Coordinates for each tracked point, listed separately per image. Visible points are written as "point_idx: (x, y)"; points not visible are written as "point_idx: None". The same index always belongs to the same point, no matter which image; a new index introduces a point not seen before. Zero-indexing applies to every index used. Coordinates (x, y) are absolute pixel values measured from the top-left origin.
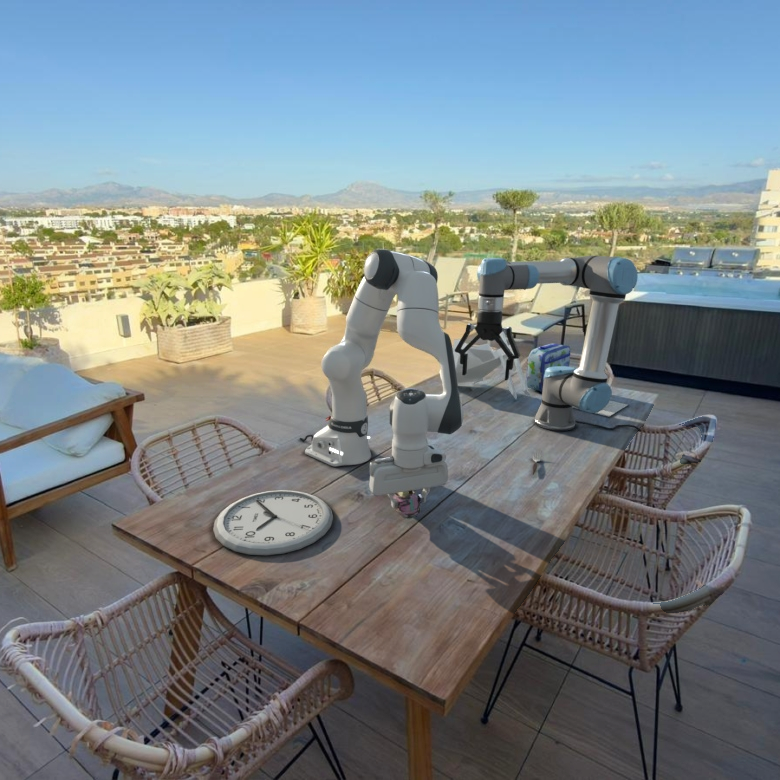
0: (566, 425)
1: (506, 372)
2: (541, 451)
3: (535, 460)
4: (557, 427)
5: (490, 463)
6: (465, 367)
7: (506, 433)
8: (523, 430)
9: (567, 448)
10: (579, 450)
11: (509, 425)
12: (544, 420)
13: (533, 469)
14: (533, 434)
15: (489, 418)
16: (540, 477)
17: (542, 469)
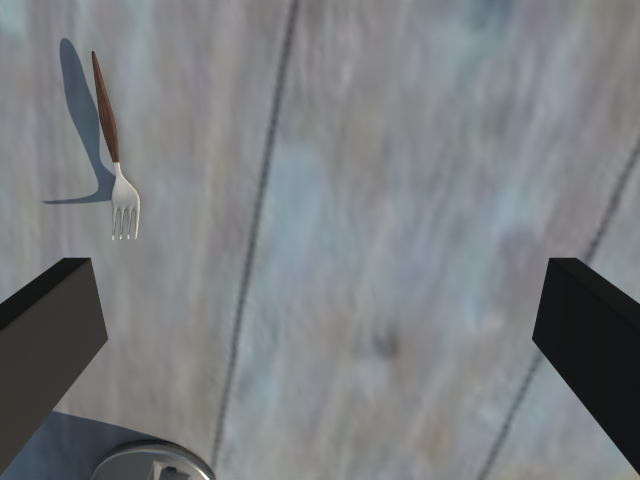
0: (103, 466)
1: (19, 303)
2: (112, 237)
3: (124, 183)
4: (129, 450)
5: (268, 103)
6: (595, 329)
7: (277, 371)
8: (232, 411)
9: None
10: None
11: (282, 432)
12: (173, 475)
13: (102, 91)
14: (195, 394)
15: (355, 460)
16: (71, 56)
17: (86, 130)
